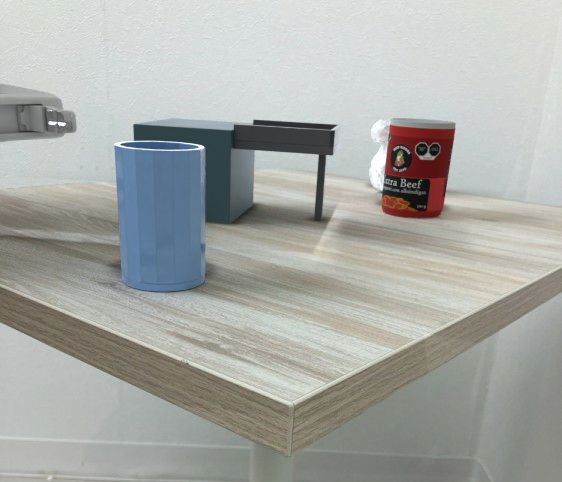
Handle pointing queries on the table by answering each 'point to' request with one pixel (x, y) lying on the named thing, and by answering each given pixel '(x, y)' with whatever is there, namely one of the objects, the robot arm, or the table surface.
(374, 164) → the bust
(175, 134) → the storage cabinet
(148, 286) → the cylindrical container
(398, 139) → the canned food
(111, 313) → the table surface
